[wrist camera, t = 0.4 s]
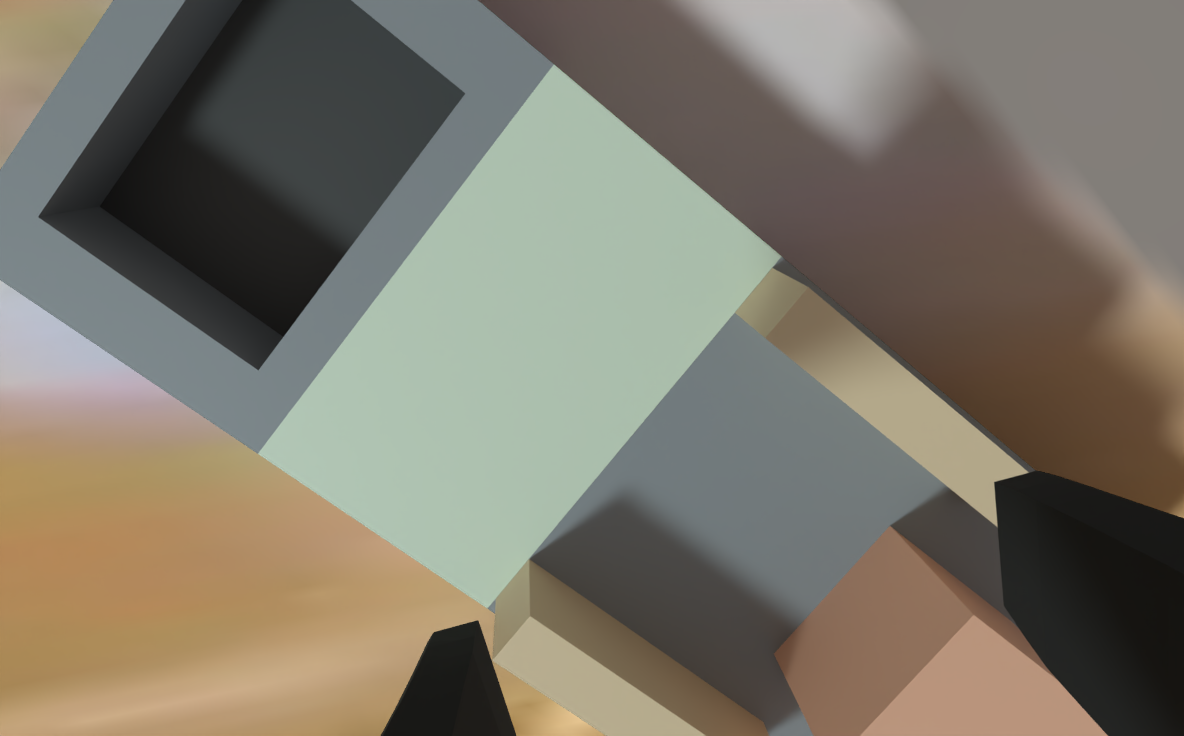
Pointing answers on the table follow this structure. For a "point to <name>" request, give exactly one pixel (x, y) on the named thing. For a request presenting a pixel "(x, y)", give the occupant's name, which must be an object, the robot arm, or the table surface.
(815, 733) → the terracotta block
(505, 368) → the pale green block
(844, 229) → the table surface
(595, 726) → the deck
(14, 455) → the table surface
